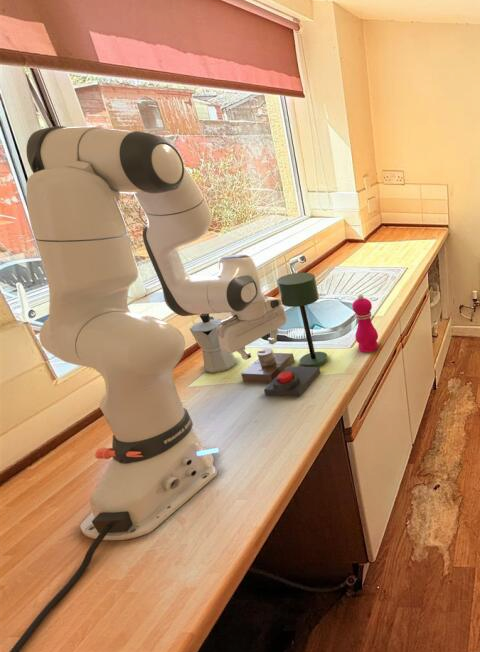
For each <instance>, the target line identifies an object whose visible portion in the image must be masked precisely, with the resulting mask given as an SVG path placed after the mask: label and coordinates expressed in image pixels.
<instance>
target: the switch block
mask: <svg viewBox="0 0 480 652" xmlns="http://www.w3.org/2000/svg"><path fill="white" fill-rule="evenodd" d="M285 371H290V372H291V373H292V376H293V379H292V380H291V381H289V382H286V383H279V380H278V376H277V377H276V378H274V379H273V381H272V382H271V383H268V384H267V386H266V387H264V389H263V391H264V395H265V396H266V397H283V398H284V397H286V398H288V397H289V398H301V397H302V396H303V394H304V393H306V391H307V390H308V389H309V387H311V385H312V384H313V383H314V382H315V380H317V378H318V377H319V376H320V375H321V368H320V367H301V366H295V365H294V366H293V365H291V366H287V367H286V368H285V369H284V370H283V371H282V372H285ZM282 372H281V373H282Z"/></svg>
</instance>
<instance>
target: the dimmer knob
mask: <svg viewBox="0 0 480 652" xmlns="http://www.w3.org/2000/svg"><path fill="white" fill-rule="evenodd" d="M273 353H274V351H273V349H272V348H263V349H259V350H258V351H257V352H256V354H257V357H258V358H257V359H259V361H260V365H261V366H270V365H272V364H274V363H275V358H274V354H273Z"/></svg>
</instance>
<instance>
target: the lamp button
mask: <svg viewBox="0 0 480 652" xmlns="http://www.w3.org/2000/svg"><path fill="white" fill-rule="evenodd" d="M292 379H293V376H292V373H291V372H290V371H285V372H282V373H280V374H279V375H278V380H279V383H286V382H289V381H291V380H292Z"/></svg>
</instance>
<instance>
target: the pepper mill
mask: <svg viewBox="0 0 480 652" xmlns="http://www.w3.org/2000/svg"><path fill="white" fill-rule="evenodd" d="M351 305H352V310H353V312H354V313H355V314H354V315H355V319H357V328H356V331H355V342H356V343H357V344H358V345H357V346H358V351H360V352H361V353H367V354H368V353H372V352H374V351H376V350H377V349H378V347H379V343H378V339H379V334H378V331H377V329H376V328H375V326H374V325H373V323H372V319H371V317H372V308H373V305H372V302H371V301H370V299H368V298H366V297H365V298H364V295H363V294H358V295H357V299H355V300H354V301H353V302H352V304H351Z"/></svg>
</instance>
